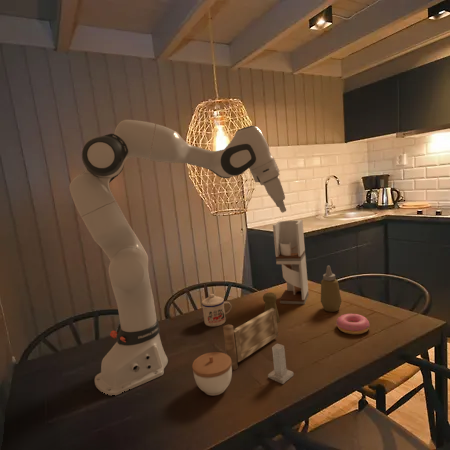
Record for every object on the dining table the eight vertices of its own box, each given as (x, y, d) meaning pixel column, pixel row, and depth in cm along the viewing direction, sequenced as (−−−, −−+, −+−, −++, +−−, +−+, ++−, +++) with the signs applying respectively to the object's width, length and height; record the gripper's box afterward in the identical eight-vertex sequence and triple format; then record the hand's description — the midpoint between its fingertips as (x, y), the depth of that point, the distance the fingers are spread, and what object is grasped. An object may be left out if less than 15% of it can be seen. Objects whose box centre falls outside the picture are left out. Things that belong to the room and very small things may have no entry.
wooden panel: (238, 362, 98) (234, 332, 97) (234, 360, 99) (231, 330, 98) (278, 335, 112) (275, 308, 110) (274, 334, 113) (271, 308, 111)
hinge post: (232, 371, 95) (227, 330, 94) (225, 368, 98) (220, 327, 96) (239, 366, 98) (235, 326, 96) (232, 363, 100) (228, 323, 98)
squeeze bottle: (317, 308, 133) (313, 265, 131) (333, 303, 135) (330, 262, 133) (329, 315, 126) (325, 270, 123) (346, 310, 128) (343, 266, 125)
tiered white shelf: (285, 294, 153) (279, 221, 148) (308, 294, 149) (302, 219, 144) (280, 303, 143) (272, 225, 138) (304, 304, 138) (297, 223, 134)
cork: (279, 316, 129) (276, 290, 128) (280, 323, 123) (277, 295, 122) (264, 317, 130) (261, 291, 128) (264, 324, 124) (261, 297, 122)
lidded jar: (187, 392, 88) (183, 360, 87) (214, 372, 96) (210, 342, 95) (215, 407, 81) (211, 372, 80) (242, 384, 89) (238, 352, 88)
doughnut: (353, 319, 120) (353, 308, 119) (377, 330, 110) (377, 319, 109) (330, 327, 116) (329, 316, 116) (352, 339, 106) (351, 327, 105)
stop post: (283, 384, 87) (280, 353, 86) (268, 377, 91) (265, 347, 89) (293, 375, 90) (290, 345, 89) (279, 369, 94) (276, 340, 93)
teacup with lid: (207, 329, 125) (203, 300, 124) (201, 320, 134) (198, 293, 132) (236, 321, 129) (233, 293, 127) (228, 313, 138) (225, 287, 136)
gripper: (254, 173, 119) (269, 207, 122) (259, 179, 99) (277, 219, 102) (270, 166, 118) (285, 199, 121) (278, 170, 98) (296, 210, 101)
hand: (281, 208), depth 111 cm, fingers open, 8 cm apart
